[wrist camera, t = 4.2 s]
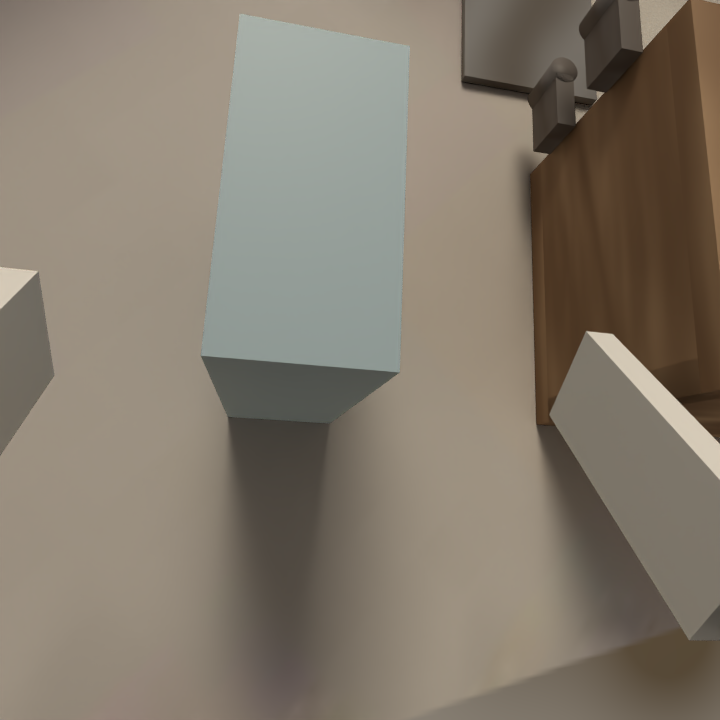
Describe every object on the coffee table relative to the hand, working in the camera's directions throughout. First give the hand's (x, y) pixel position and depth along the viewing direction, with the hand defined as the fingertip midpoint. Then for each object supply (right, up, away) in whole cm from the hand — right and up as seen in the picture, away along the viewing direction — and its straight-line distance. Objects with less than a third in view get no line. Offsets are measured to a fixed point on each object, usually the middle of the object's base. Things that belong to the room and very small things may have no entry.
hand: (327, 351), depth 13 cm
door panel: (-2, +1, +9) cm, 9 cm away
